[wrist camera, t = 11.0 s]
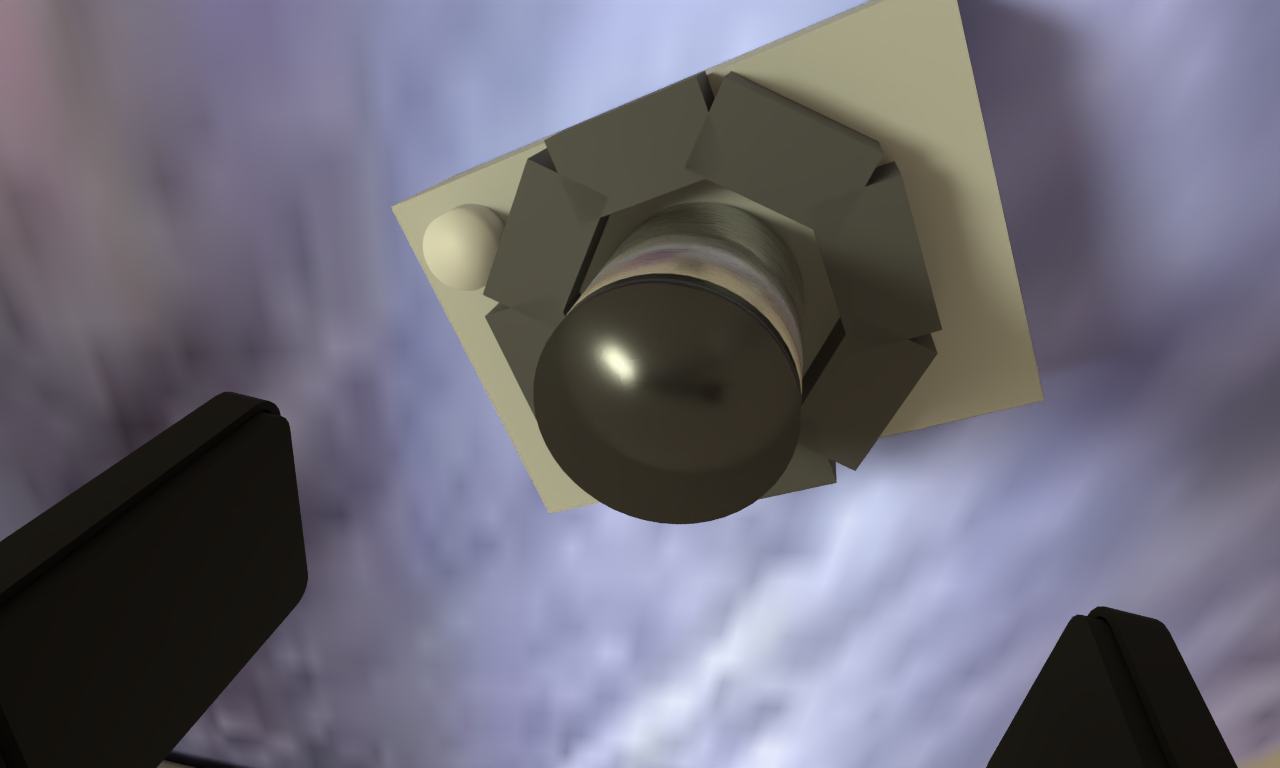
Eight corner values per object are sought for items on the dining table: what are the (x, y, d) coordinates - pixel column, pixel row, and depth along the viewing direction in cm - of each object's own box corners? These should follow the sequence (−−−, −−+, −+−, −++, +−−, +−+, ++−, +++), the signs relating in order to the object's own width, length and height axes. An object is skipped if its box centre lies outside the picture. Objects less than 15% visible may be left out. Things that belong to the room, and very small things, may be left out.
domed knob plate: (923, -27, 19) (962, -36, 14) (1008, 340, 22) (1062, 434, 17) (452, 172, 23) (358, 217, 19) (584, 449, 27) (535, 547, 22)
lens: (619, 184, 18) (542, 259, 13) (826, 222, 18) (832, 316, 13) (598, 367, 21) (525, 491, 16) (780, 405, 20) (768, 549, 15)
